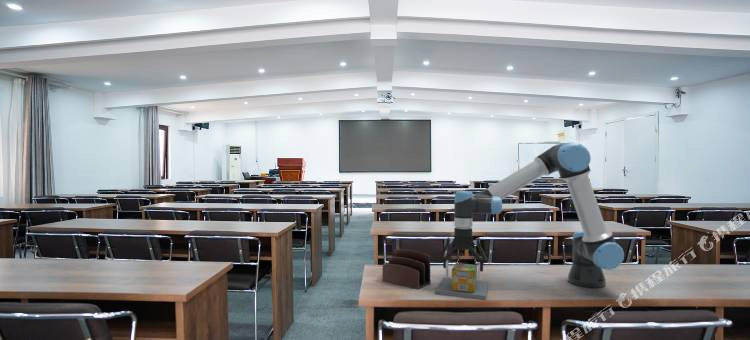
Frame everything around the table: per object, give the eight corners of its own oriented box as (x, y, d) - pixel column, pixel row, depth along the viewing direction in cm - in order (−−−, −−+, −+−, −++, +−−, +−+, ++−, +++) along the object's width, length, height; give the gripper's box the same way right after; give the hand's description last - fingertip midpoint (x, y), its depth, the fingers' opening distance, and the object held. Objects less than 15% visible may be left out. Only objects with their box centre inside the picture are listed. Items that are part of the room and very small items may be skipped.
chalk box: (451, 268, 164) (456, 260, 178) (451, 290, 164) (455, 280, 178) (475, 270, 161) (477, 262, 175) (474, 293, 161) (477, 283, 175)
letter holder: (394, 276, 191) (395, 246, 191) (430, 284, 179) (431, 252, 178) (382, 281, 183) (382, 250, 183) (418, 289, 171) (418, 256, 171)
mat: (488, 285, 177) (488, 281, 177) (485, 299, 158) (485, 295, 158) (442, 280, 184) (442, 277, 184) (435, 294, 165) (435, 290, 165)
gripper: (432, 227, 171) (432, 277, 171) (493, 230, 163) (492, 282, 163) (435, 224, 178) (435, 272, 178) (494, 227, 170) (493, 277, 171)
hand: (462, 277), depth 171 cm, fingers open, 13 cm apart
